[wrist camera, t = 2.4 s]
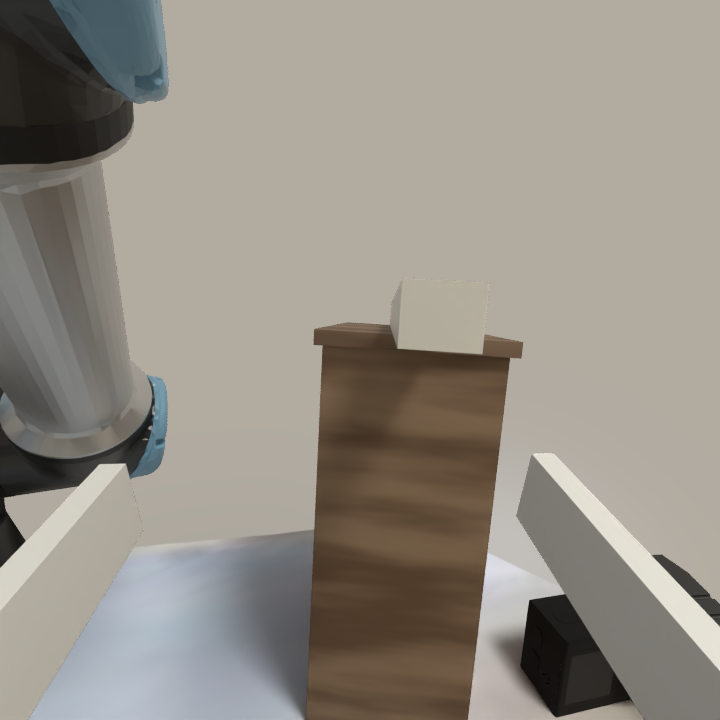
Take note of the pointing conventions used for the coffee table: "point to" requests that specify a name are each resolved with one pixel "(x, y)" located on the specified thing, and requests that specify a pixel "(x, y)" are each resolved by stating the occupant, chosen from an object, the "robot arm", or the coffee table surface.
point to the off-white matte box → (440, 315)
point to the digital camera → (566, 659)
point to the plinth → (401, 523)
